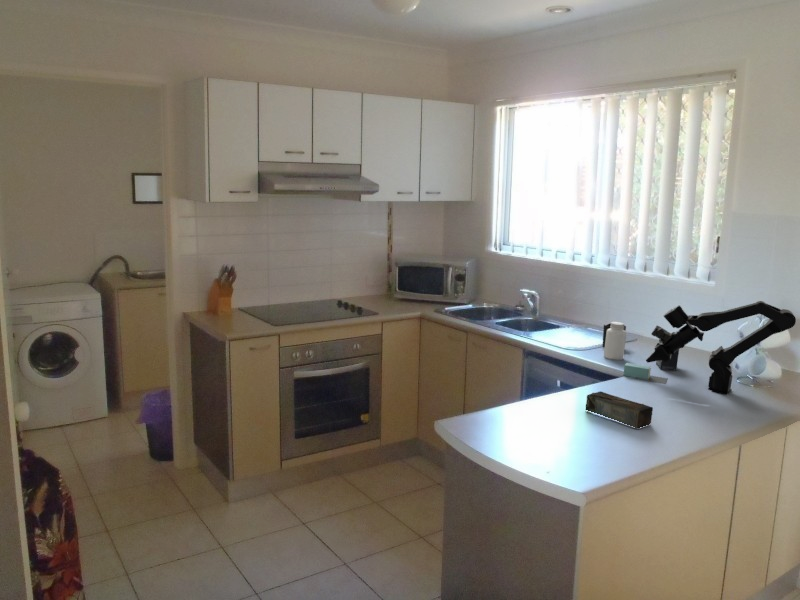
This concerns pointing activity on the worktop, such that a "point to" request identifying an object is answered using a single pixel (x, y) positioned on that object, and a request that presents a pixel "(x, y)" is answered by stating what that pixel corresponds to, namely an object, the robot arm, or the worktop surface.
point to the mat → (655, 379)
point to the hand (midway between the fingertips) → (646, 361)
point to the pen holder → (606, 331)
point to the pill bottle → (615, 341)
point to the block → (637, 371)
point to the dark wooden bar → (619, 409)
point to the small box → (668, 362)
